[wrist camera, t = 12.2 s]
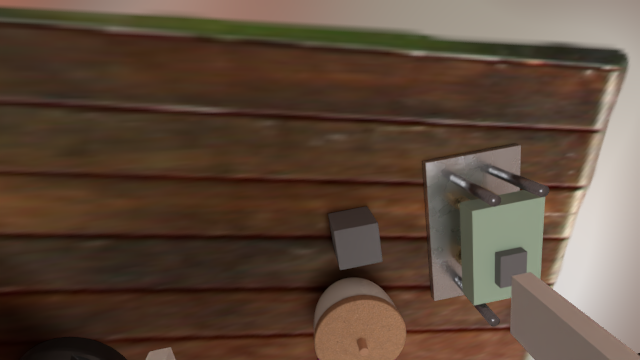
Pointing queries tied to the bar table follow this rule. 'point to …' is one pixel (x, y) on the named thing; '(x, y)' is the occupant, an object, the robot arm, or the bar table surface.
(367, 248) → the dark grey cube
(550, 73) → the bar table surface
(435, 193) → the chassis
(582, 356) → the robot arm
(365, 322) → the lidded jar
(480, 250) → the board
